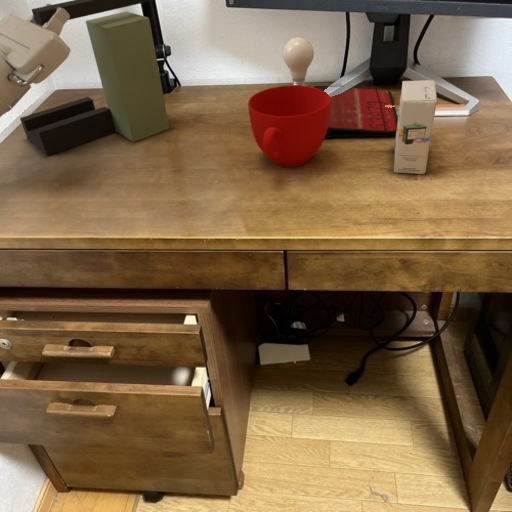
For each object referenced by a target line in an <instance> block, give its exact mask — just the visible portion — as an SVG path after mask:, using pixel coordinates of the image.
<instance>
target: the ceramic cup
mask: <svg viewBox="0 0 512 512" xmlns="http://www.w3.org/2000/svg"><path fill="white" fill-rule="evenodd" d="M247 108H248V117H249V121H250V126H251V131H252V134H253V137H254V141H255V142H256V144H257V146H258V148H259V149H260V151H261V152H262V153H263V154H264V155H265V156H266V158H268V159H269V160H271V162H272V163H273V164H274V165H277V166H280V167H284V168H285V167H286V168H291V167H292V168H293V167H299V166H302V165H305V164H306V163H308V162H309V161H310V159H311V158H312V157H313V156H315V154H317V152H318V151H319V149H320V148H321V147H322V145H323V143H324V140H325V138H326V137H325V136H326V133H327V129H328V124H329V118H330V108H331V100H330V96H329V95H328V94H327V93H326V92H324V91H322V90H320V89H317V88H314V87H313V86H308V85H305V86H297V85H293V84H292V85H280V86H273V87H270V88H265V89H263V90H261V91H258V92H256V93H254V94H253V95H252V96H251V97H250V98H249V99H248V101H247Z"/></svg>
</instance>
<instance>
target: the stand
mask: <svg viewBox="0 0 512 512" xmlns="http://www.w3.org/2000/svg"><path fill="white" fill-rule="evenodd" d="M85 24H86V29H87V33H88V37H89V41H90V44H91V48H92V51H93V56H94V61H95V63H96V67H97V70H98V75H99V78H100V82H101V86H102V91H103V94H104V99H105V101H106V105H107V106H106V107H107V108H109V109H110V111H111V115H112V119H113V122H114V126H115V130H116V132H117V133H118V134H119V135H121V136H123V137H125V139H127V140H129V141H131V142H132V143H135V142H137V141H141V140H143V139H145V138H149V137H151V136H154V135H157V134H159V133H162V132H164V131H166V130H170V124H169V118H168V113H167V108H166V101H165V97H164V91H163V86H162V80H161V74H160V69H159V64H158V58H157V53H156V48H155V43H154V37H153V31H152V25H151V21H150V18H149V17H148V16H144V15H141V14H138V13H134V12H130V11H122V12H117V13H113V14H109V15H104V16H101V17H97V18H92V19H88V20H85Z"/></svg>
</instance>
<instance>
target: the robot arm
mask: <svg viewBox="0 0 512 512" xmlns="http://www.w3.org/2000/svg"><path fill="white" fill-rule="evenodd" d="M49 5H52V4H51V3H46V4H45V5H44V6H49ZM52 15H53V16H52V17H51V19H50V20H49V22H48V23H45V24H44V25H43V26H42V25H40V24H37V23H36V22H35V19H34V16H33V14H31V15H30V16H29V17H27V19H24V18H21V17H19V16H17V15H14V14H12V13H10V14H7V15H6V16H4V17H3V18H1V19H0V118H1V117H2V116H4V115H6V114H7V113H9V112H10V111H11V110H13V108H14V107H15V106H16V105H17V104H18V103H19V102H20V100H22V98H24V96H25V95H26V94H27V93H28V92H29V91H30V89H31V88H32V86H31V85H32V84H35V85H37V84H40V83H42V82H43V81H45V80H46V79H47V78H48V77H50V75H52V74H53V73H54V72H55V71H56V70H57V69H58V68H59V67H60V66H61V65H62V64H63V63H64V62H65V61H66V60H67V59H68V57H70V53H71V48H70V46H69V45H68V44H67V43H66V42H65V41H64V40H63V39H62V38H61V37H60V35H61V32H62V31H63V29H64V26H65V24H66V23H67V22H68V21H69V18H70V15H69V14H68V12H67V11H66V10H65V9H63V8H60V7H58V8H57V9H56V10H55V11H54V12H53V13H52Z"/></svg>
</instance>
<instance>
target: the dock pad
mask: <svg viewBox="0 0 512 512" xmlns="http://www.w3.org/2000/svg"><path fill="white" fill-rule="evenodd" d="M19 120H20V122H21V125H22V128H23V131H24V133H25V136H26V138H27V140H28V141H29V142H30V143H31V144H32V145H34V147H36V148H37V149H38V150H40V152H42V153H43V154H44V155H45V156H47V157H48V156H51V155H54V154H56V153H57V154H58V153H60V152H62V151H65V150H68V149H71V148H74V147H76V146H80V145H82V144H85V143H87V142H90V141H93V140H97V139H99V138H101V137H105V136H107V135H111V134H113V133H115V132H116V130H115V126H114V122H113V119H112V115H111V111H110V109H109V108H108V106H102V107H99V108H96V107H95V103H94V99H93V98H91V97H90V96H85V97H83V98H79V99H76V100H73V101H70V102H67V103H63V104H60V105H56V106H54V107H51V108H47V109H44V110H40V111H38V112H34V113H31V114H28V115H24V116H21V117H19Z"/></svg>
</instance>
